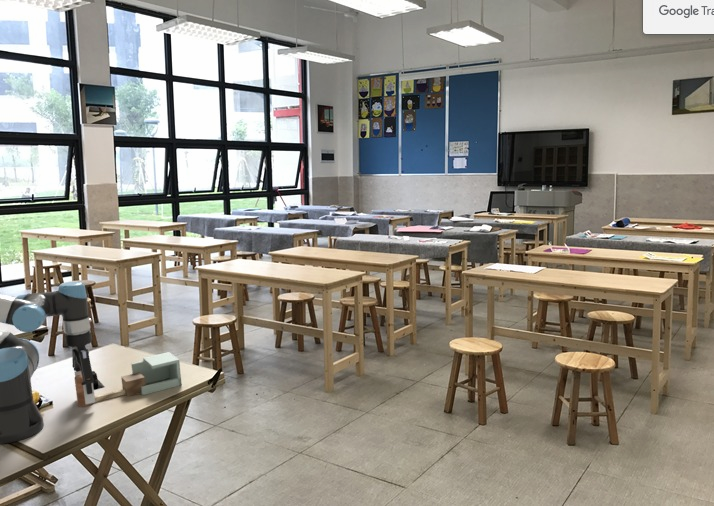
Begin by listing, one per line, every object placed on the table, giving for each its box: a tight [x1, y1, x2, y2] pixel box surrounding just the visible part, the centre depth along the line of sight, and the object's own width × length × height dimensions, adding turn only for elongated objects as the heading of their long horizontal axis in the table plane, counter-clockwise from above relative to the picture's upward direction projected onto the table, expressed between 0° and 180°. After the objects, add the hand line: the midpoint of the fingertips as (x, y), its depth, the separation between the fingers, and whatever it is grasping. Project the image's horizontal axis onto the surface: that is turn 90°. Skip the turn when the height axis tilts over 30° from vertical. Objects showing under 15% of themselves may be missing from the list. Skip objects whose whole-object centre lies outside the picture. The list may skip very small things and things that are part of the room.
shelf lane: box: [130, 351, 182, 396], centre depth 203 cm, size 13×10×9 cm
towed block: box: [74, 372, 147, 407], centre depth 195 cm, size 20×6×9 cm, turn 125°
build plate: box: [92, 370, 105, 391], centre depth 206 cm, size 13×8×5 cm, turn 37°
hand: (85, 396), depth 191 cm, fingers open, 13 cm apart
